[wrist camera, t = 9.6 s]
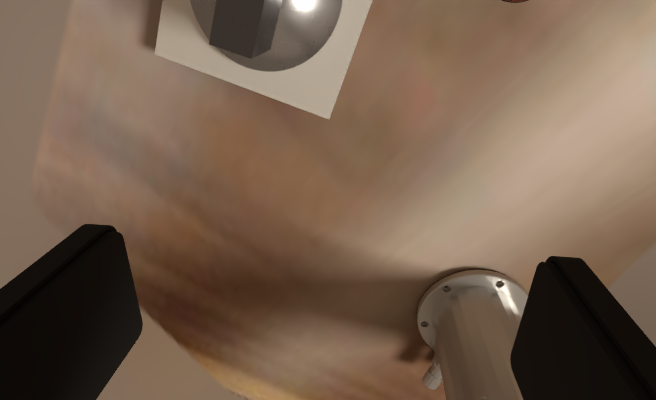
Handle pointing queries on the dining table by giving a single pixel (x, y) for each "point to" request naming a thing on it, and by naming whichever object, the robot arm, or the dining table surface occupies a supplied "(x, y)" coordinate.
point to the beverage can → (515, 1)
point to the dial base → (286, 86)
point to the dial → (268, 29)
